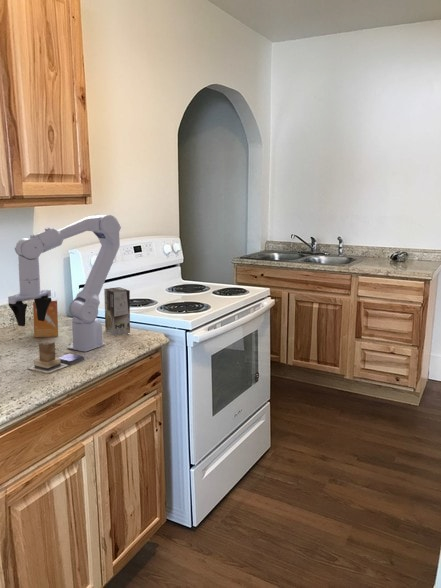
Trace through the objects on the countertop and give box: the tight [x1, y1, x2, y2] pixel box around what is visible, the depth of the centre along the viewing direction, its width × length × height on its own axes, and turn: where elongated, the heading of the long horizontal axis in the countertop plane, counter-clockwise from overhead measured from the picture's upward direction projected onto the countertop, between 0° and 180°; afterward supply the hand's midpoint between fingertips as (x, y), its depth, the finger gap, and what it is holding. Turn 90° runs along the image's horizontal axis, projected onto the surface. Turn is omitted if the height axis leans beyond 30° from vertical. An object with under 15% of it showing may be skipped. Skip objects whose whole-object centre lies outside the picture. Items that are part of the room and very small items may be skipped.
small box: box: [32, 297, 59, 338], centre depth 176 cm, size 8×6×13 cm
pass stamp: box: [33, 340, 61, 370], centre depth 142 cm, size 5×5×7 cm
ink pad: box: [57, 353, 86, 366], centre depth 148 cm, size 6×6×1 cm
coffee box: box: [103, 286, 131, 337], centre depth 181 cm, size 9×6×16 cm
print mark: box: [27, 363, 70, 375], centre depth 142 cm, size 8×8×1 cm
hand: (31, 323), depth 151 cm, fingers open, 7 cm apart
